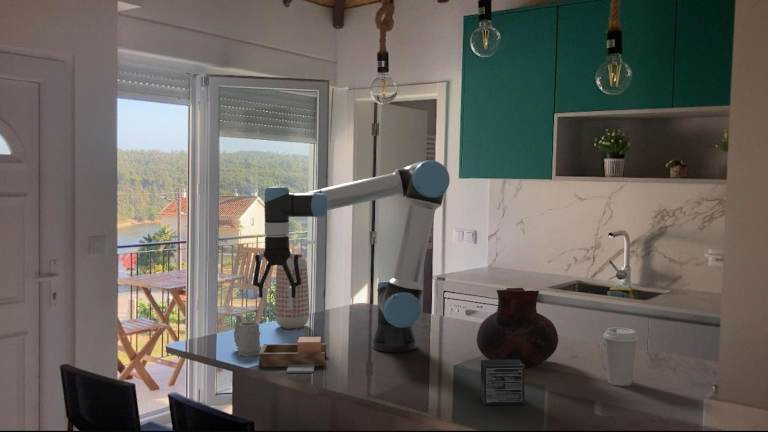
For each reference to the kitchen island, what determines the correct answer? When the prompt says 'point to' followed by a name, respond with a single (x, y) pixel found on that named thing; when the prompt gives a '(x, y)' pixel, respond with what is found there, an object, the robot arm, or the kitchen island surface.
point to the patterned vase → (300, 302)
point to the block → (309, 344)
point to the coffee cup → (620, 355)
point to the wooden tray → (289, 356)
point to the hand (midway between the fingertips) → (277, 307)
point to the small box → (502, 382)
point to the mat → (300, 368)
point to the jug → (517, 330)
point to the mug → (247, 337)
